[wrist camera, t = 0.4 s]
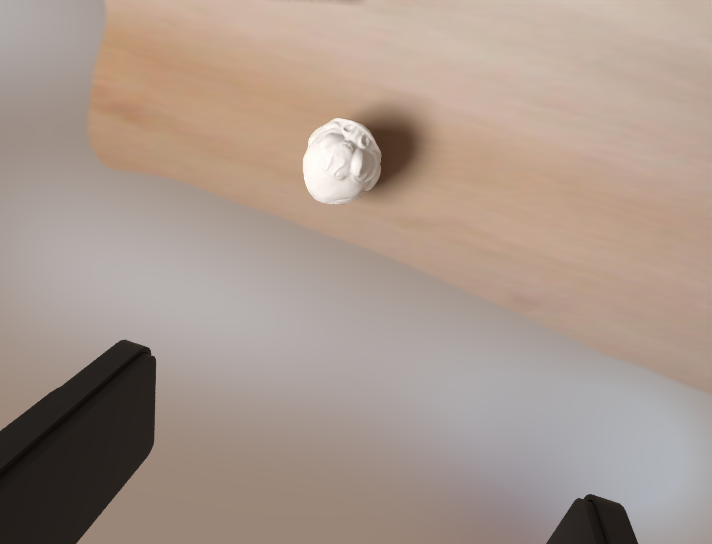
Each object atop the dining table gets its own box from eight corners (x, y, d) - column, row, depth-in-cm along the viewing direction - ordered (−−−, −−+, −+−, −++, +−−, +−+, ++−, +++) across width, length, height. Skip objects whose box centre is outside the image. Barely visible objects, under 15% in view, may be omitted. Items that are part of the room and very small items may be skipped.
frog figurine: (406, 142, 36) (395, 157, 30) (357, 208, 39) (338, 234, 33) (346, 95, 35) (321, 100, 29) (301, 166, 39) (270, 183, 32)
